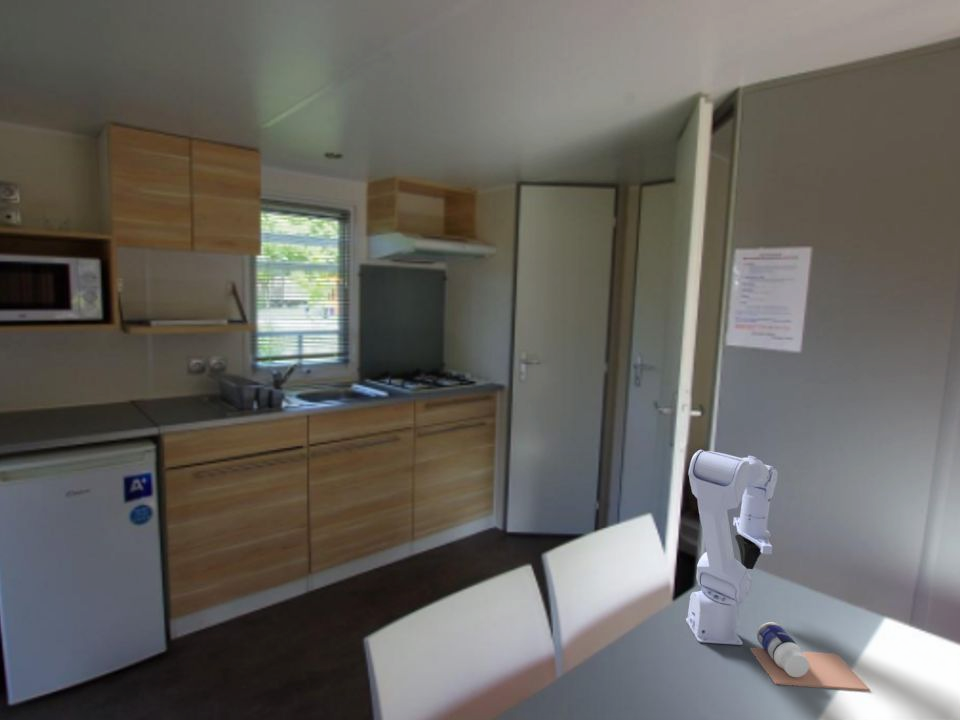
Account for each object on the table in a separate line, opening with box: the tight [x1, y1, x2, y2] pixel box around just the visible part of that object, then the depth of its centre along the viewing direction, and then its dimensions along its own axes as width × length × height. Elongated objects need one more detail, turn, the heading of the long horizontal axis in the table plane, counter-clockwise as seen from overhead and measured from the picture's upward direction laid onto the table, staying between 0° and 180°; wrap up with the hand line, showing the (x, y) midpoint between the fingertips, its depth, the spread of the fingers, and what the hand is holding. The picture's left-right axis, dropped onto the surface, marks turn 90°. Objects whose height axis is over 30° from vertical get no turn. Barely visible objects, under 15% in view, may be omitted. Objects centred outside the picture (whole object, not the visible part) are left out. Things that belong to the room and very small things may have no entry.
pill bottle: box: [756, 621, 809, 677], centre depth 108 cm, size 6×6×10 cm
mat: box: [749, 647, 871, 692], centre depth 107 cm, size 18×10×1 cm, turn 89°
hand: (747, 567), depth 126 cm, fingers closed
